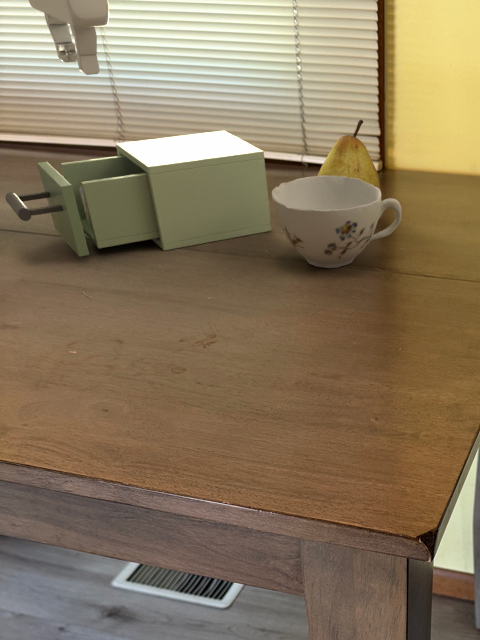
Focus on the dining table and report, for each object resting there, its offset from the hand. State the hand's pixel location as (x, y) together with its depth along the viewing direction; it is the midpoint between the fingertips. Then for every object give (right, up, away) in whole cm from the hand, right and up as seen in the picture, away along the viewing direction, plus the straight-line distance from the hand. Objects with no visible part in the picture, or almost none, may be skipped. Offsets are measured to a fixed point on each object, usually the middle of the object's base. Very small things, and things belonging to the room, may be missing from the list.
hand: (79, 67), depth 83 cm
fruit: (+28, -9, +20) cm, 36 cm away
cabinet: (+9, -11, +17) cm, 22 cm away
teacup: (+28, -18, +9) cm, 35 cm away
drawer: (-2, -14, +11) cm, 18 cm away
